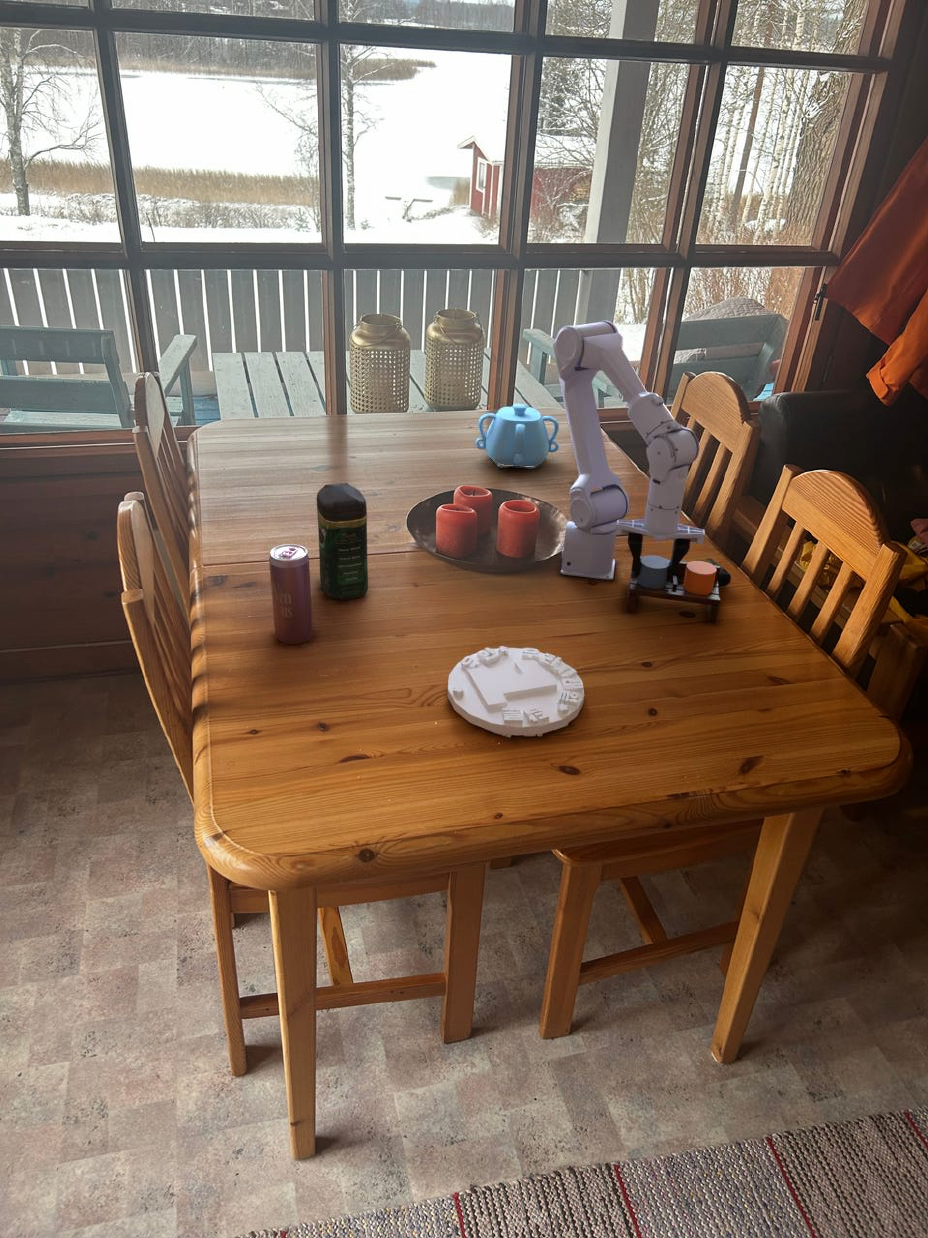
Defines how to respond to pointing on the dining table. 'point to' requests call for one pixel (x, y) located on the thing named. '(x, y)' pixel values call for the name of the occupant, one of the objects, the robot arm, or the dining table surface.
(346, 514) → the coffee jar
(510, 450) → the decorative pot
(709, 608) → the rack
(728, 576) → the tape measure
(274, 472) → the dining table surface
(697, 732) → the dining table surface
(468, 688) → the white flat round disc
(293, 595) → the beverage can
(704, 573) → the orange squat cylinder
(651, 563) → the grey squat cylinder
